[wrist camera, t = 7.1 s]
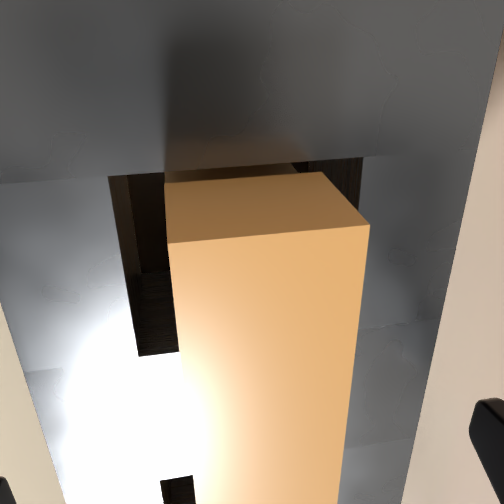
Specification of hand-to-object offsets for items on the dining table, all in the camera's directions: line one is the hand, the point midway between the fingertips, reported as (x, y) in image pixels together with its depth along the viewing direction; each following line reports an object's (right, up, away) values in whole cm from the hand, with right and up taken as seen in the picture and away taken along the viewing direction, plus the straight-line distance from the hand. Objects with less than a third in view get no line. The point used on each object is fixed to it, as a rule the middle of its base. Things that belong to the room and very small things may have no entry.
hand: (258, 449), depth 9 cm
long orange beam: (-1, +2, +3) cm, 4 cm away
